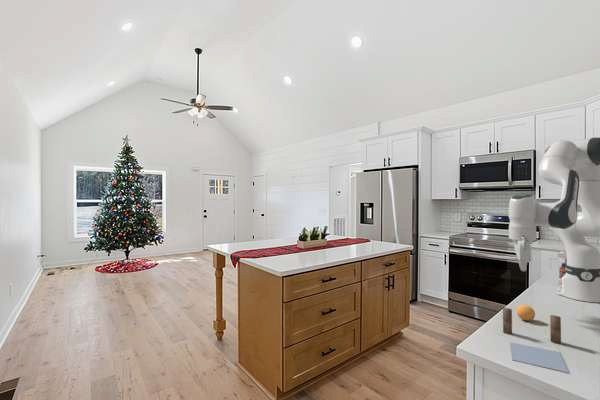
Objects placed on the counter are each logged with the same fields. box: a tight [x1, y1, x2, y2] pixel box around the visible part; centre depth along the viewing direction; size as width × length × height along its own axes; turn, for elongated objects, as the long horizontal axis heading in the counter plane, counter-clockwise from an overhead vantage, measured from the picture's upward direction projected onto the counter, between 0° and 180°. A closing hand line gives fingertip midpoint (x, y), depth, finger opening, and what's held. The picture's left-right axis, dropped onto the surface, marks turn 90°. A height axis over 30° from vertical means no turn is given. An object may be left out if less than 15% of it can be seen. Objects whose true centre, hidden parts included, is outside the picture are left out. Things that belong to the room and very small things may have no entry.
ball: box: [516, 304, 536, 322], centre depth 110 cm, size 6×6×6 cm
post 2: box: [549, 314, 562, 345], centre depth 93 cm, size 2×2×8 cm
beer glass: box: [557, 250, 567, 268], centre depth 164 cm, size 7×7×15 cm
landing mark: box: [509, 341, 570, 374], centre depth 85 cm, size 12×12×1 cm
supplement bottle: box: [558, 263, 567, 285], centre depth 153 cm, size 6×6×11 cm
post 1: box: [502, 307, 513, 335], centre depth 100 cm, size 2×2×8 cm
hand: (522, 269), depth 118 cm, fingers open, 4 cm apart
